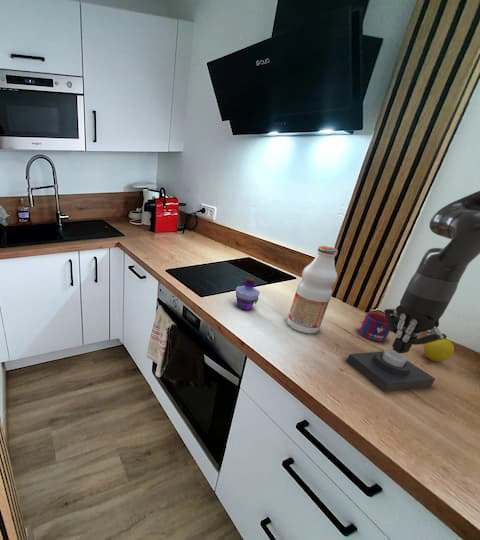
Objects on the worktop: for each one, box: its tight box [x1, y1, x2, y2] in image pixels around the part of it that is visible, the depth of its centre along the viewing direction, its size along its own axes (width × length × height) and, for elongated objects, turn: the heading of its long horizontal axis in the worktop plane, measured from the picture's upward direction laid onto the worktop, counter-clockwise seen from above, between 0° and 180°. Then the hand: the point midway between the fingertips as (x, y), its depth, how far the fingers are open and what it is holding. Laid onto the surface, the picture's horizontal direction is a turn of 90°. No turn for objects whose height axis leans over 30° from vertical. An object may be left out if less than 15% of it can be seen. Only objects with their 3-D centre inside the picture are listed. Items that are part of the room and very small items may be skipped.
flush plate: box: [346, 350, 436, 393], centre depth 76 cm, size 14×11×4 cm
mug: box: [358, 310, 391, 343], centre depth 93 cm, size 7×10×7 cm
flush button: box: [382, 349, 408, 367], centre depth 75 cm, size 4×4×2 cm
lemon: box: [423, 337, 455, 362], centre depth 81 cm, size 6×6×8 cm
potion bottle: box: [235, 276, 261, 312], centre depth 106 cm, size 9×9×12 cm
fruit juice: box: [286, 245, 339, 334], centre depth 92 cm, size 9×9×28 cm
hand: (398, 351), depth 74 cm, fingers closed
